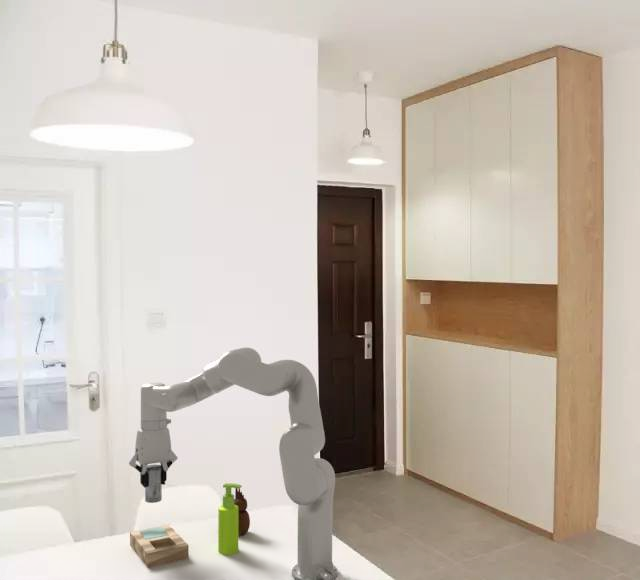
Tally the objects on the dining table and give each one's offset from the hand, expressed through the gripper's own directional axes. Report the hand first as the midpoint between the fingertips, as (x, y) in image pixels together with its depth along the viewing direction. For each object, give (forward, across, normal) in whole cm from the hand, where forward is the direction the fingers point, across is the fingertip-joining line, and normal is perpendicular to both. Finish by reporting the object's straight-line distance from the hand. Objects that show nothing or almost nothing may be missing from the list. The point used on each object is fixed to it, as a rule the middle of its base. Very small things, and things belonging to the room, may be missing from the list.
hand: (153, 484), depth 207 cm
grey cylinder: (+5, 0, 0) cm, 5 cm away
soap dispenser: (+19, -19, +15) cm, 30 cm away
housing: (+19, 0, +5) cm, 19 cm away
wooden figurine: (+19, -27, +4) cm, 33 cm away
